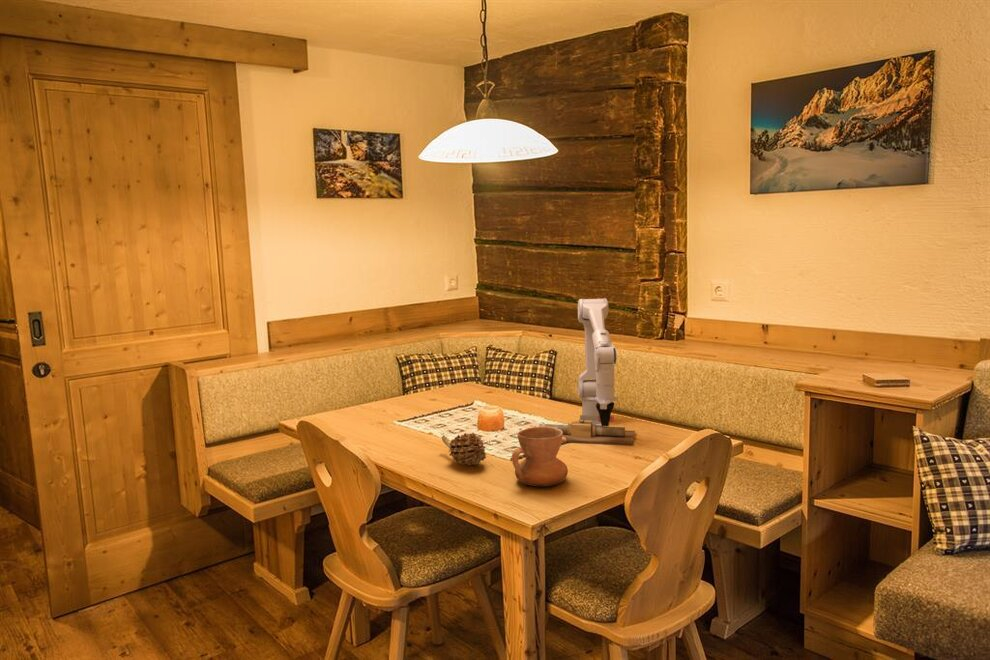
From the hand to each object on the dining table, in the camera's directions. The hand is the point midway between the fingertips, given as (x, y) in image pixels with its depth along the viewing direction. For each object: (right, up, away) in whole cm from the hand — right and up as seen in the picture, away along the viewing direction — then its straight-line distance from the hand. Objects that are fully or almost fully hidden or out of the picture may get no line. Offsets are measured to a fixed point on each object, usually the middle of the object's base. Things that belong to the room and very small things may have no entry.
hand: (605, 425), depth 237 cm
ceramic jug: (-23, -11, -34) cm, 42 cm away
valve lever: (-2, 0, +6) cm, 6 cm away
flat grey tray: (-7, -5, +7) cm, 11 cm away
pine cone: (-46, -9, -15) cm, 49 cm away
